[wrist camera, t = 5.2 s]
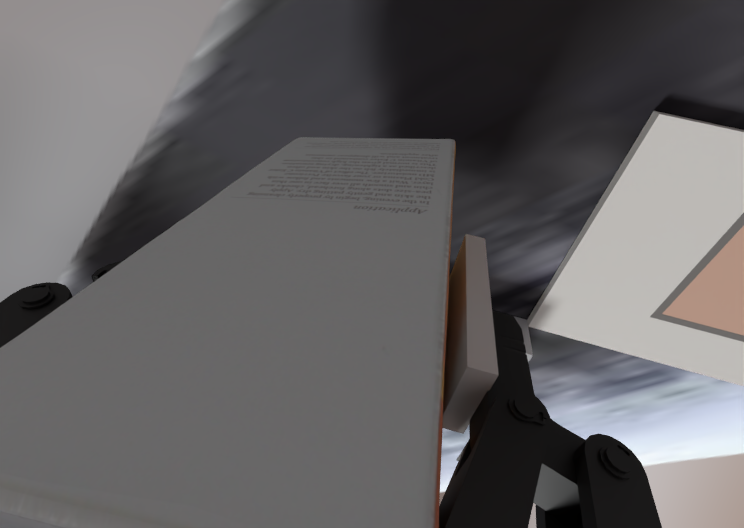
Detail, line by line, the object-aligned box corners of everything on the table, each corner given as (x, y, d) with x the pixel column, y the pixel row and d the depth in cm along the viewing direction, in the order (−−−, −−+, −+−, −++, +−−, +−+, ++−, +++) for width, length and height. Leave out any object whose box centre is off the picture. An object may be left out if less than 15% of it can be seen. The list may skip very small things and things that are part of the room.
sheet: (527, 319, 23) (528, 326, 23) (653, 110, 15) (659, 114, 15) (773, 387, 22) (780, 396, 21) (1052, 196, 14) (1073, 203, 13)
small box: (445, 305, 17) (416, 744, 7) (321, 292, 19) (136, 648, 8) (460, 132, 13) (446, 647, 2) (295, 131, 14) (-198, 465, 4)
